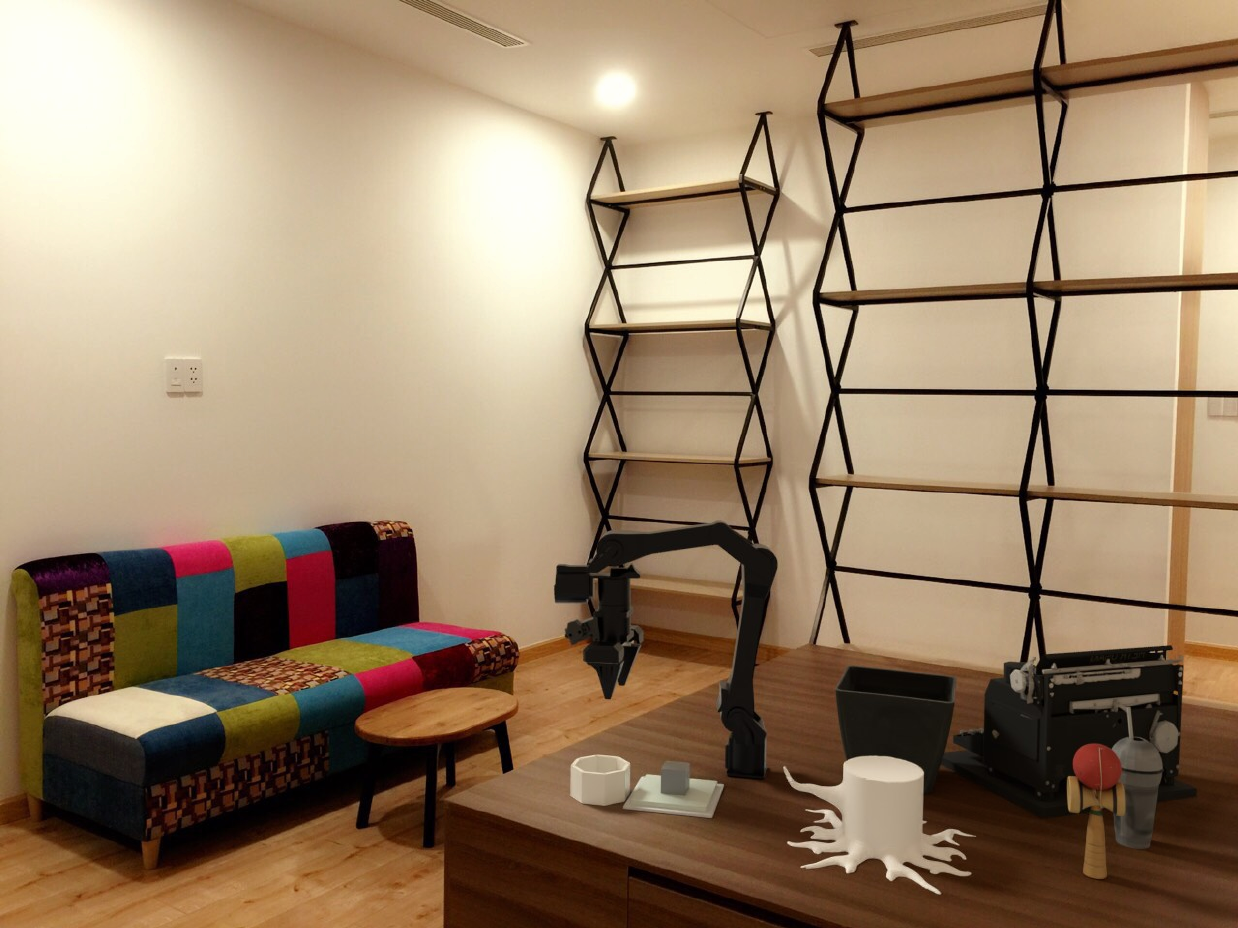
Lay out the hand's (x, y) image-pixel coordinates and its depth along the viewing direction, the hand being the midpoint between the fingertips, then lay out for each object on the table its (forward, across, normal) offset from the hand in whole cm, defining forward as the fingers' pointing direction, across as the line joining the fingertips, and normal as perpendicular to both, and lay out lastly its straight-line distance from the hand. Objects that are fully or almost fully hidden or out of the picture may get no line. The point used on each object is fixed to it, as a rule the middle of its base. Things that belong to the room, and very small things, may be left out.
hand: (615, 692), depth 177 cm
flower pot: (+15, -9, +47) cm, 50 cm away
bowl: (+13, +13, +1) cm, 19 cm away
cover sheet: (+13, +11, +13) cm, 21 cm away
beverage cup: (+15, +9, +81) cm, 83 cm away
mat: (+14, +11, +13) cm, 22 cm away
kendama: (+15, +22, +73) cm, 78 cm away
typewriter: (+16, -16, +75) cm, 78 cm away
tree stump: (+15, +19, +45) cm, 51 cm away
